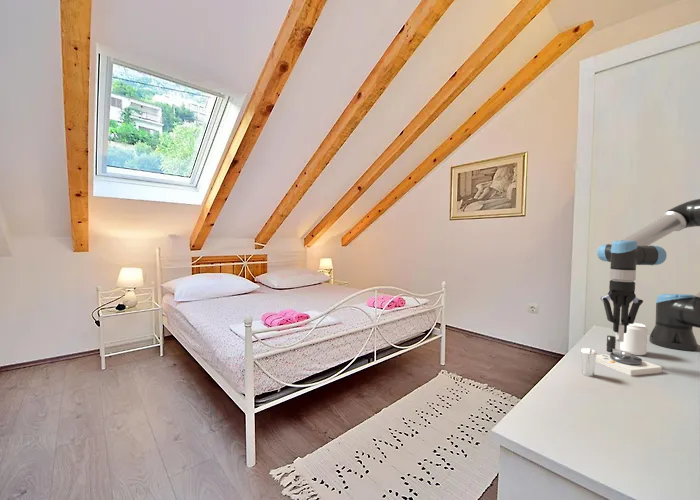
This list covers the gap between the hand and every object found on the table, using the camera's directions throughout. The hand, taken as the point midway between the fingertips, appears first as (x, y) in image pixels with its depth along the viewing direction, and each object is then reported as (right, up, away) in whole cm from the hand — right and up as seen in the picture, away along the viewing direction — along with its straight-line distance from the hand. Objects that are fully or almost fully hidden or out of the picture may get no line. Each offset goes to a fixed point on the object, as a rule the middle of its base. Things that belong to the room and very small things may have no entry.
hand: (619, 340), depth 123 cm
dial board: (-2, -8, -5) cm, 10 cm away
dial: (-2, -6, -4) cm, 7 cm away
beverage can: (+14, -8, +9) cm, 18 cm away
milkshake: (-22, -9, -12) cm, 26 cm away
